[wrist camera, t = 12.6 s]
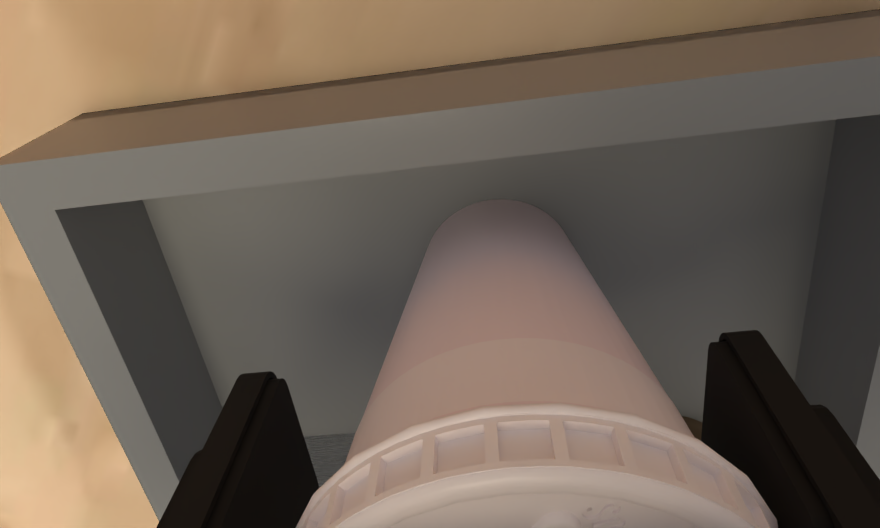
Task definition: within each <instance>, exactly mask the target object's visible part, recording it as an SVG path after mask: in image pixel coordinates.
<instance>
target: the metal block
mask: <svg viewBox="0 0 880 528" xmlns="http://www.w3.org/2000/svg"><path fill="white" fill-rule="evenodd" d="M354 436H355V433H346V434H333V435H320V436H307V437H304V439H305V442H306V445H307V448H308V452H309V455H310V458H311V461H312V464H313V467H314V471H315V474H316V477H317V480H318V484H319V488H320V487H321V486H322V485H323V484H324V483H325V482H326V481H327V480H328V479H330V478H331V477H332V476H333V475H334V474H335V473H336V472H337V471H338V470H339V469H340V468H341V467H342V466H343V465H344V464H345V461H346V458H347V455H348V453H349V450H350V447H351V444H352V442H353V439H354Z"/></svg>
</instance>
